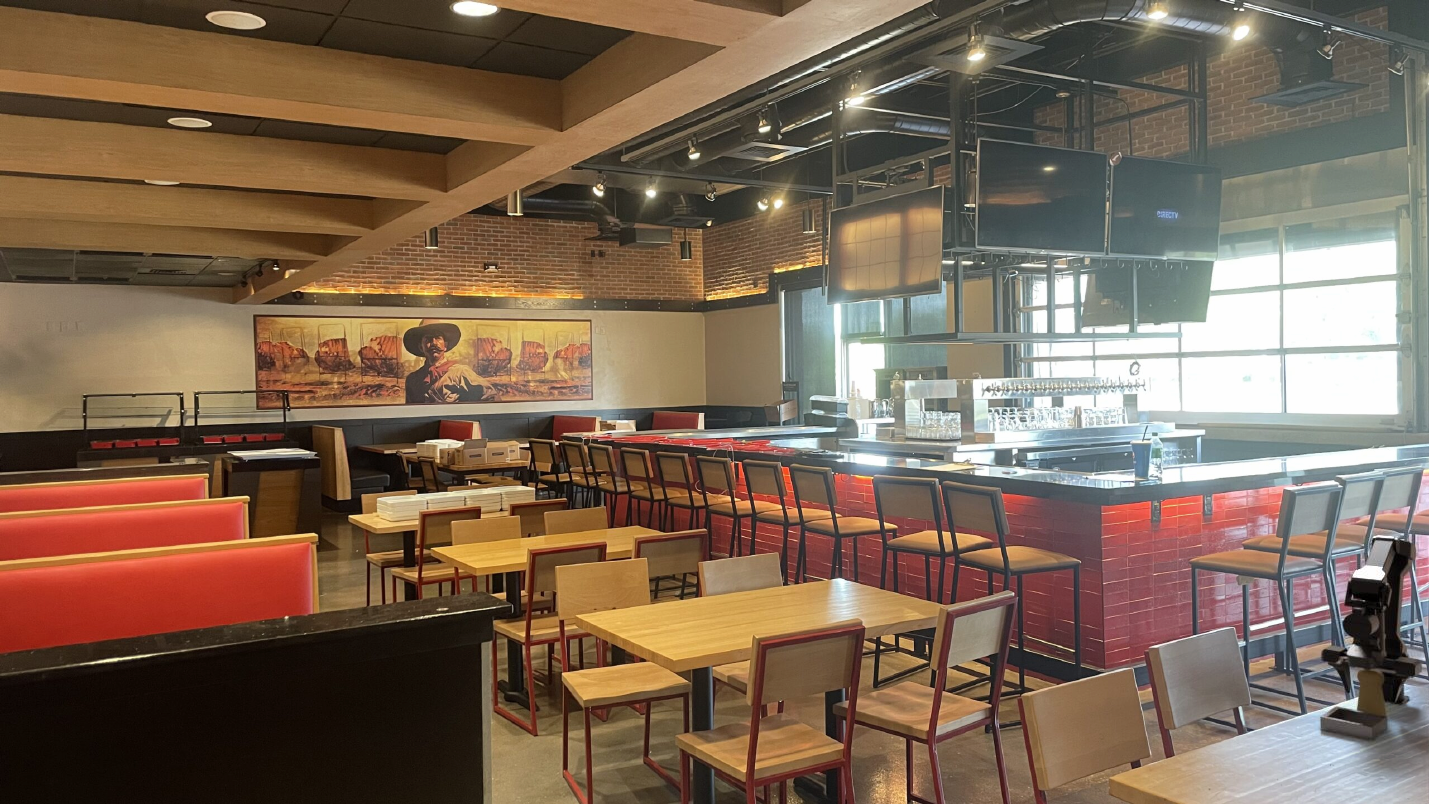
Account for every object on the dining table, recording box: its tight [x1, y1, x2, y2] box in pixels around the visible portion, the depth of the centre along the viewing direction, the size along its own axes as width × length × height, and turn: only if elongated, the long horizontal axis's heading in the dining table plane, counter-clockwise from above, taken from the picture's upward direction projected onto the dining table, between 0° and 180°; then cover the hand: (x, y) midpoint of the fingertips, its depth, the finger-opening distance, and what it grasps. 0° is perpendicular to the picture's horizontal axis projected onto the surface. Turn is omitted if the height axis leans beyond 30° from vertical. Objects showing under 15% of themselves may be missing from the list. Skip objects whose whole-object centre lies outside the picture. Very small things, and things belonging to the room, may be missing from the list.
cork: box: [1356, 668, 1388, 717], centre depth 225 cm, size 6×6×11 cm
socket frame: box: [1319, 705, 1388, 742], centre depth 217 cm, size 10×10×3 cm
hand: (1371, 697), depth 225 cm, fingers open, 9 cm apart
